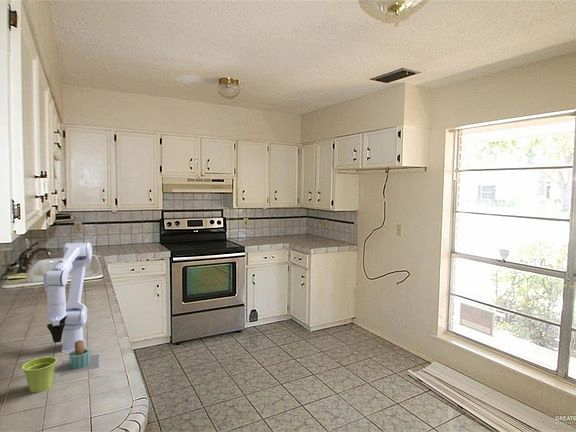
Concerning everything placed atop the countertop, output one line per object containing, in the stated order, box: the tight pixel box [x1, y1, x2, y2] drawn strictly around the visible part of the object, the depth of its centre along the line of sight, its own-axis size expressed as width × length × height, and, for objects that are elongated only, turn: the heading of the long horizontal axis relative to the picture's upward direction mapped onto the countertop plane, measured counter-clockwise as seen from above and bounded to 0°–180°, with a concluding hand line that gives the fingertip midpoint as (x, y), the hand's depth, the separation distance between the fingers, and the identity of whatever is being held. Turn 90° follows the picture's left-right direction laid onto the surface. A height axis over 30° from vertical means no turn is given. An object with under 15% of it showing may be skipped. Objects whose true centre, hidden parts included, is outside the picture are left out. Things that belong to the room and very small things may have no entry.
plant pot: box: [21, 356, 58, 394], centre depth 119 cm, size 9×9×9 cm
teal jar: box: [68, 347, 92, 369], centre depth 135 cm, size 7×7×5 cm
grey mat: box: [60, 354, 100, 376], centre depth 135 cm, size 12×12×1 cm
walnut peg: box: [75, 339, 85, 355], centre depth 135 cm, size 3×3×8 cm
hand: (58, 338), depth 136 cm, fingers open, 7 cm apart
